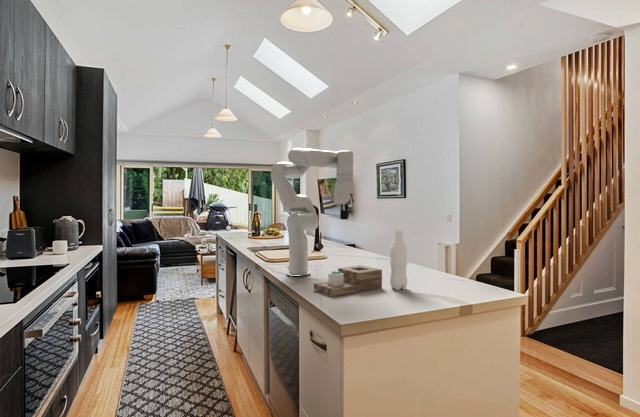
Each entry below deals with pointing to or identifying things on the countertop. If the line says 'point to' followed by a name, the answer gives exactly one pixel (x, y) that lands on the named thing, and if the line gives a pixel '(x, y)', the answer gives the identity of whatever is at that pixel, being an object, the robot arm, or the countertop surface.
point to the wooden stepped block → (353, 281)
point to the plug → (335, 278)
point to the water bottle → (398, 262)
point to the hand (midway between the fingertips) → (344, 219)
